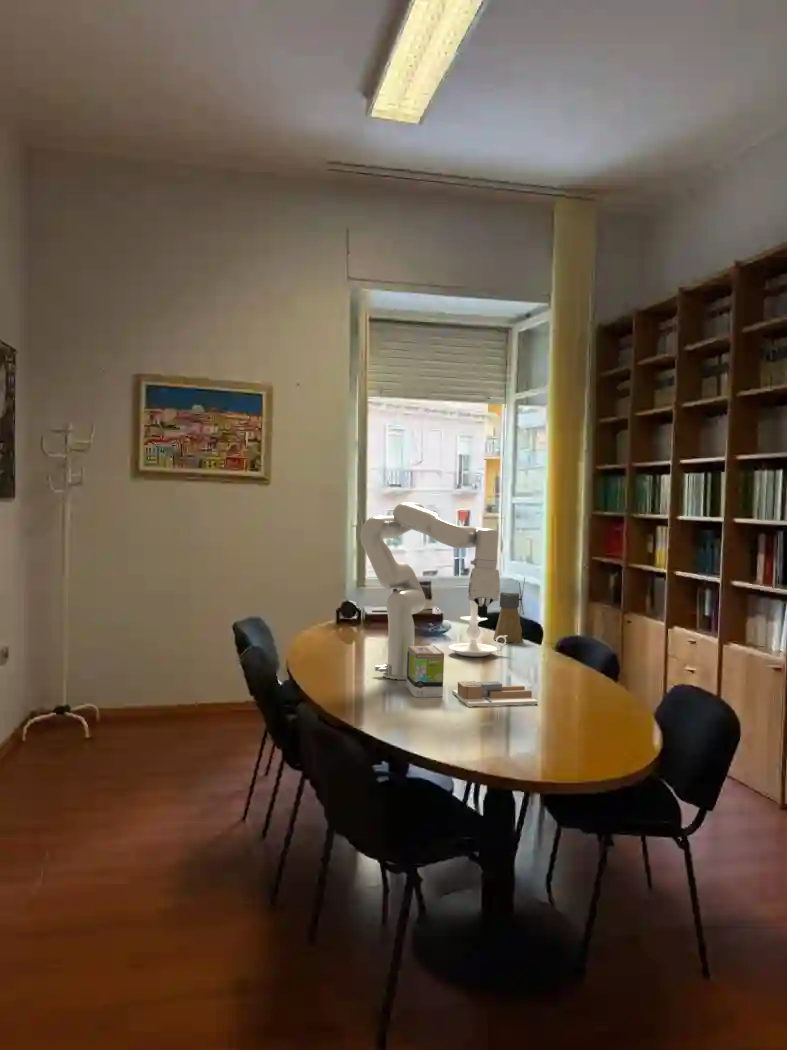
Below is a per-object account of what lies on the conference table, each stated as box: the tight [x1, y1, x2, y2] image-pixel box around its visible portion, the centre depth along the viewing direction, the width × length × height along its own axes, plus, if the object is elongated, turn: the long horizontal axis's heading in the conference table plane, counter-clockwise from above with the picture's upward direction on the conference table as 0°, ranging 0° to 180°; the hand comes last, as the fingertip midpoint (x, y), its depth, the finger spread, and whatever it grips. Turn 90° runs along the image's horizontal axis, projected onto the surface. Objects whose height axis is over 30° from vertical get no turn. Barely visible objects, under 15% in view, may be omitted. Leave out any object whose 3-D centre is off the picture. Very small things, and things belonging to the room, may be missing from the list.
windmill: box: [492, 576, 526, 644], centre depth 376 cm, size 21×14×30 cm, turn 164°
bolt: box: [463, 680, 503, 697], centre depth 264 cm, size 12×4×4 cm, turn 102°
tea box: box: [406, 645, 445, 698], centre depth 272 cm, size 15×10×15 cm, turn 9°
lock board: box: [452, 680, 538, 708], centre depth 265 cm, size 23×18×5 cm
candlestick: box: [448, 600, 507, 658], centre depth 338 cm, size 21×25×28 cm
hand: (482, 617), depth 278 cm, fingers closed
